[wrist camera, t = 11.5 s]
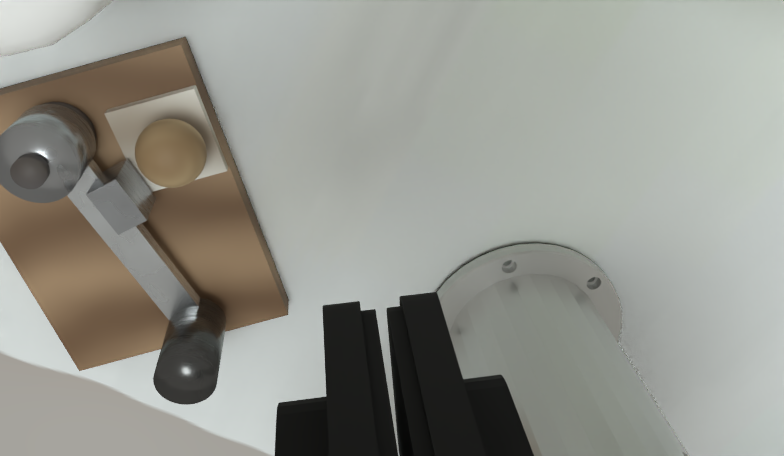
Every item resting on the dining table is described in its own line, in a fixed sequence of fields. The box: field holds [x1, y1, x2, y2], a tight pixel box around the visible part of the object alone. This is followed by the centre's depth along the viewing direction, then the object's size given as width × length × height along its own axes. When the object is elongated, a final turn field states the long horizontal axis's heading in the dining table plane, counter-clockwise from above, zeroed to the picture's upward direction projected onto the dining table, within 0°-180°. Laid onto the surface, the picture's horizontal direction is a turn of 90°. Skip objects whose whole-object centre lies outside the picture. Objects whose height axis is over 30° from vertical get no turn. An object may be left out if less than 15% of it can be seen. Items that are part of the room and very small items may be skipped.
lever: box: [0, 104, 226, 404], centre depth 34 cm, size 15×4×5 cm, turn 26°
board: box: [0, 37, 289, 371], centre depth 35 cm, size 16×12×6 cm
